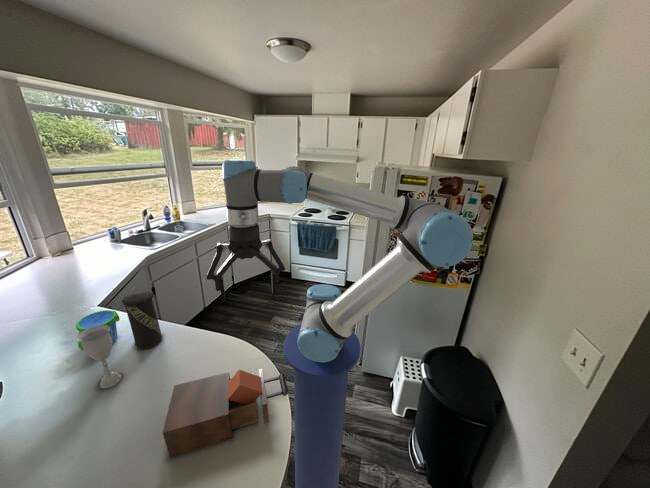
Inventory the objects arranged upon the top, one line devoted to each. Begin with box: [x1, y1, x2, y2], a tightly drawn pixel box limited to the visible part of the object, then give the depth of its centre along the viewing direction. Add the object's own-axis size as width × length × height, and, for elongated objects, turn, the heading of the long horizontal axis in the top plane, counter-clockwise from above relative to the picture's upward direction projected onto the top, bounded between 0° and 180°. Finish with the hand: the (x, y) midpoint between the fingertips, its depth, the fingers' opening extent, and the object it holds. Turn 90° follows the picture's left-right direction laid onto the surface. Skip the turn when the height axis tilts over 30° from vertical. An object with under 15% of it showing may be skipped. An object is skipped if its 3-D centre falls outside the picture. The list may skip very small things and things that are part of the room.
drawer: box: [229, 368, 289, 431], centre depth 68 cm, size 18×11×7 cm, turn 109°
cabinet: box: [162, 371, 233, 458], centre depth 64 cm, size 14×13×9 cm
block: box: [228, 369, 262, 405], centre depth 66 cm, size 5×5×7 cm
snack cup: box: [75, 309, 121, 351], centre depth 89 cm, size 16×10×10 cm
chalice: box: [76, 325, 122, 389], centre depth 73 cm, size 7×7×18 cm
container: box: [121, 289, 163, 350], centre depth 88 cm, size 9×9×20 cm
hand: (249, 296), depth 70 cm, fingers open, 13 cm apart
